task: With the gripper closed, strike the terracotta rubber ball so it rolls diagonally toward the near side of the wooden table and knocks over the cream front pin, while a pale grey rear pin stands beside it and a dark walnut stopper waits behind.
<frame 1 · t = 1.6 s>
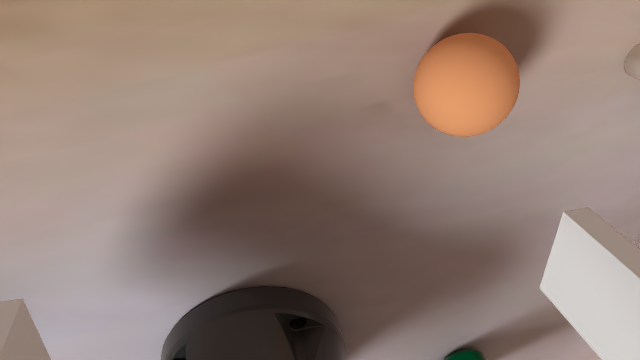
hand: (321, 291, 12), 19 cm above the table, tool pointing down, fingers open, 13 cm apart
ball: (464, 85, 28), on the table
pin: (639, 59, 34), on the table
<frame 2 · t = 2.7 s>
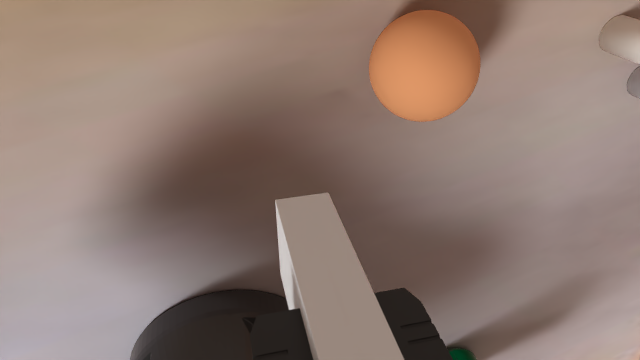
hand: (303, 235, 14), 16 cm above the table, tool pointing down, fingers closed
ball: (423, 67, 27), on the table
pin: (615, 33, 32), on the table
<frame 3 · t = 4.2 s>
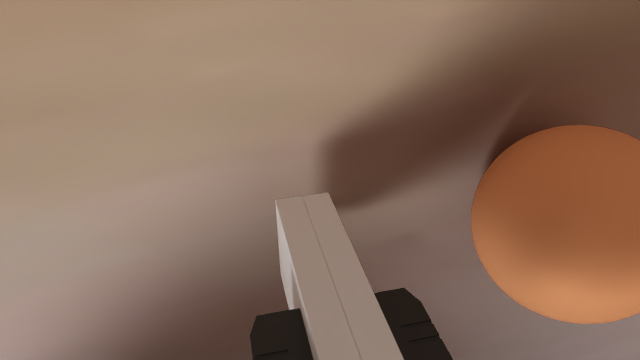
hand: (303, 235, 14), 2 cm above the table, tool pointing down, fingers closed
ball: (572, 222, 15), on the table
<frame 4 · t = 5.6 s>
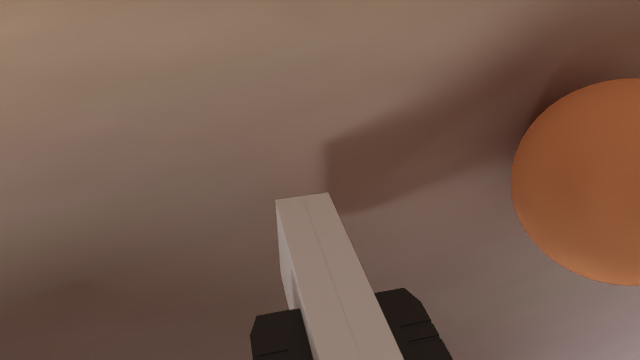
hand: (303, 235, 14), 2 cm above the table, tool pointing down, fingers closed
ball: (619, 181, 14), on the table
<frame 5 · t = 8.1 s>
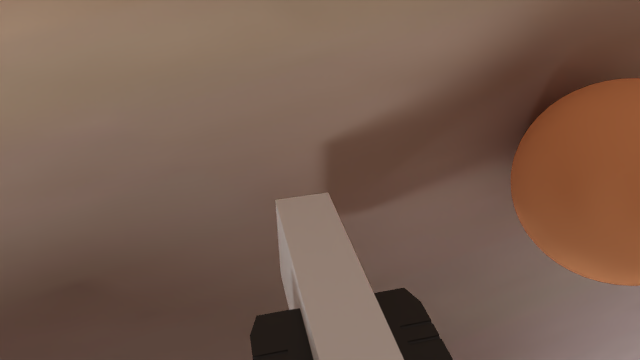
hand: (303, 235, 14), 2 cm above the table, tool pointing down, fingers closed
ball: (619, 181, 14), on the table
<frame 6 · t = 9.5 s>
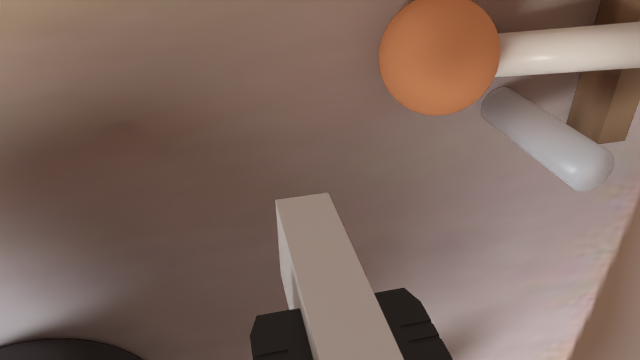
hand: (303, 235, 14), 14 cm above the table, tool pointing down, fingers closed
stopper wall: (603, 42, 30), on the table
ball: (437, 56, 25), on the table
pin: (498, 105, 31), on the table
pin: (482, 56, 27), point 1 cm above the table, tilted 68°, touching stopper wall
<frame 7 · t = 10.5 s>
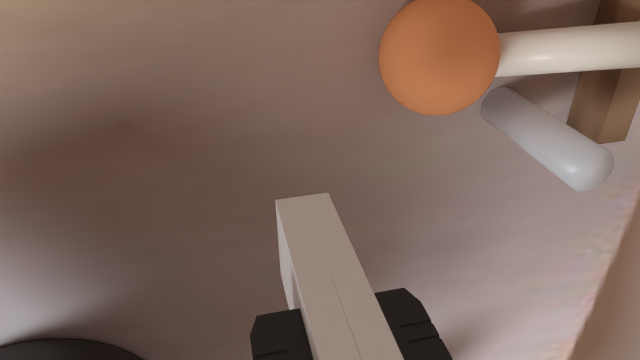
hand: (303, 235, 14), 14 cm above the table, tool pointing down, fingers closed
stopper wall: (603, 42, 30), on the table
ball: (437, 56, 25), on the table
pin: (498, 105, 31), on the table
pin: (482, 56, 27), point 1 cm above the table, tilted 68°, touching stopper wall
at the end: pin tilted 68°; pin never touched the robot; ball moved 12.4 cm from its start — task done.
